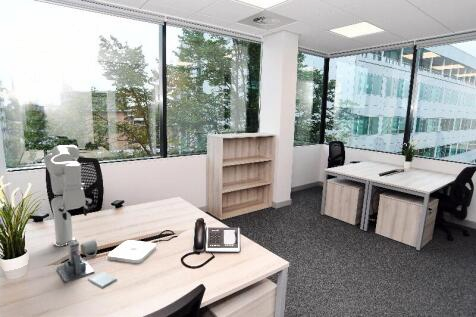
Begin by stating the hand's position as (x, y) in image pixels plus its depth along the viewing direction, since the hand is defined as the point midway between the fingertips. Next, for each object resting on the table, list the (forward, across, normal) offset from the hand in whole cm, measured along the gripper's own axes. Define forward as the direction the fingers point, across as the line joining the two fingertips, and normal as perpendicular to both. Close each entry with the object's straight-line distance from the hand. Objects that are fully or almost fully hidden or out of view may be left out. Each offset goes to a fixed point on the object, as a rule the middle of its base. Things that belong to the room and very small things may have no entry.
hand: (75, 217), depth 151 cm
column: (+28, +3, +3) cm, 28 cm away
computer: (+30, -29, +4) cm, 42 cm away
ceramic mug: (+30, -10, -12) cm, 33 cm away
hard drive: (+30, -5, +22) cm, 38 cm away
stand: (+29, +3, +3) cm, 30 cm away
